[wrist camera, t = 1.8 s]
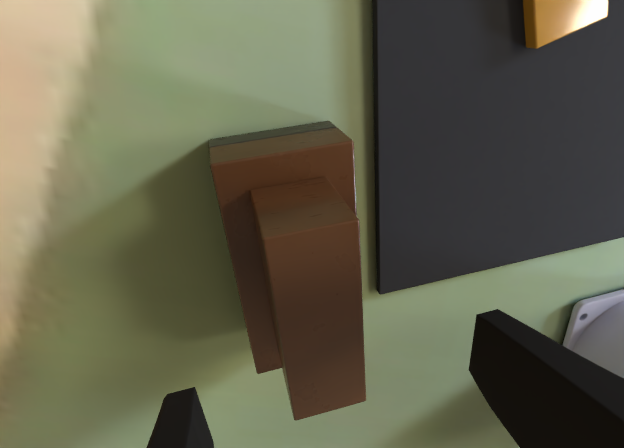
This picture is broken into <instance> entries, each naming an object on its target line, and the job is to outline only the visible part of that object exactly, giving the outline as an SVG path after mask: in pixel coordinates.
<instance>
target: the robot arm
mask: <svg viewBox="0 0 624 448" xmlns="http://www.w3.org/2000/svg"><path fill="white" fill-rule="evenodd" d="M469 371H470V373H471V375H472V377H473V378H474V380H475V382H476V384H477V386H478V387H479V389H480V391H481V392H482V394H483V396H484V397H485V399H486V401H487V403H488V404H489V406H490V407H491V409H492V410H493V412H494V413H495V414H496V416H497V417H498V418H499V420H500V421H501V423H502V424H503V425H504V427H505V428H506V429H507V431H508V432H509V433H510V435H511V436H512V437H513V439H514V440H515V441H516V443H517V444H518V445H519V447H520V448H624V289H622V290H618V291H615V292H611V293H607V294H603V295H599V296H596V297H592V298H588V299H584V300H581V301H579V302H577V303H576V304H575V305H574V307H573V310H572V314H571V317H570V321H569V324H568V328H567V331H566V335H565V338H564V342H563V345H561V344H559V343H557V342H555V341H554V340H552V339H550V338H548V337H547V336H545V335H543V334H541V333H539V332H538V331H536V330H534V329H532V328H531V327H529V326H527V325H525V324H524V323H522V322H520V321H518V320H517V319H515V318H513V317H511V316H509V315H507V314H506V313H504V312H502V311H500V310H498V309H497V310H493V311H489V312H485V313H481V314H477V316H476V323H475V330H474V337H473V344H472V351H471V358H470V365H469ZM147 448H214V444H213V439H212V436H211V433H210V430H209V428H208V425H207V422H206V419H205V416H204V413H203V410H202V407H201V404H200V401H199V398H198V395H197V392H196V389H195V387H193V388H189V389H185V390H181V391H177V392H174V393H170V394H167V395H166V397H165V398H164V400H163V403H162V406H161V409H160V412H159V415H158V418H157V421H156V424H155V426H154V429H153V432H152V435H151V437H150V440H149V443H148V445H147Z"/></svg>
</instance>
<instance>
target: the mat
mask: <svg viewBox="0 0 624 448" xmlns="http://www.w3.org/2000/svg"><path fill="white" fill-rule="evenodd" d="M372 3H373V67H374V131H375V195H376V259H377V291H378V292H379V294H385V293H389V292H393V291H397V290H401V289H406V288H410V287H414V286H418V285H423V284H427V283H431V282H435V281H440V280H444V279H448V278H452V277H457V276H461V275H465V274H469V273H473V272H478V271H482V270H486V269H490V268H495V267H499V266H503V265H507V264H512V263H516V262H520V261H524V260H529V259H533V258H537V257H541V256H545V255H550V254H554V253H558V252H562V251H567V250H571V249H575V248H579V247H584V246H588V245H592V244H596V243H601V242H605V241H609V240H613V239H617V238H622V237H624V0H609V4H608V17H607V18H605V19H602V20H600V21H598V22H596V23H593V24H591V25H589V26H587V27H584V28H582V29H580V30H578V31H575V32H573V33H571V34H569V35H566V36H564V37H562V38H560V39H557V40H555V41H553V42H551V43H548V44H546V45H544V46H542V47H539V48H537V49H534V48H527V47H526V42H525V27H524V12H523V0H372Z"/></svg>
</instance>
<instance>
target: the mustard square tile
mask: <svg viewBox="0 0 624 448" xmlns="http://www.w3.org/2000/svg"><path fill="white" fill-rule="evenodd" d="M608 4H609V0H523V12H524V27H525V42H526V47H527V48H534V49H537V48H539V47H542V46H544V45H546V44H548V43H551V42H553V41H555V40H557V39H560V38H562V37H564V36H566V35H569V34H571V33H573V32H575V31H578V30H580V29H582V28H584V27H587V26H589V25H591V24H593V23H596V22H598V21H600V20H602V19H605V18H607V17H608Z"/></svg>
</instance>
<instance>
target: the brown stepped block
mask: <svg viewBox="0 0 624 448" xmlns="http://www.w3.org/2000/svg"><path fill="white" fill-rule="evenodd" d="M209 155H210V167H211V172H212V176H213V181H214V185H215V190H216V194H217V199H218V203H219V207H220V212H221V216H222V221H223V225H224V230H225V234H226V238H227V243H228V247H229V252H230V256H231V261H232V265H233V270H234V274H235V278H236V283H237V287H238V292H239V296H240V301H241V305H242V309H243V314H244V318H245V323H246V327H247V332H248V336H249V341H250V345H251V349H252V354H253V358H254V363H255V367H256V372H257V373H258V374H260V373H264V372H268V371H271V370H275V369H279V368H282V369H283V374H284V378H285V382H286V387H287V391H288V395H289V400H290V404H291V408H292V413H293V417H294V420H300V419H303V418H307V417H310V416H314V415H317V414H321V413H325V412H328V411H332V410H335V409H339V408H342V407H346V406H349V405H353V404H356V403H360V402H364V401H366V385H365V359H364V333H363V307H362V281H361V255H360V229H359V219H358V218H357V212H356V188H355V164H354V142H353V140H351V139H350V138H349V137H348V136H347V135H345V134H344V133H343V132H342V131H341V130H339V129H338V128H337V127H336V126H335V125H334V124H332V123H331V122H330V121H325V122H318V123H312V124H305V125H299V126H293V127H286V128H280V129H273V130H267V131H260V132H254V133H248V134H241V135H235V136H228V137H222V138H215V139H210V140H209Z"/></svg>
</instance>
